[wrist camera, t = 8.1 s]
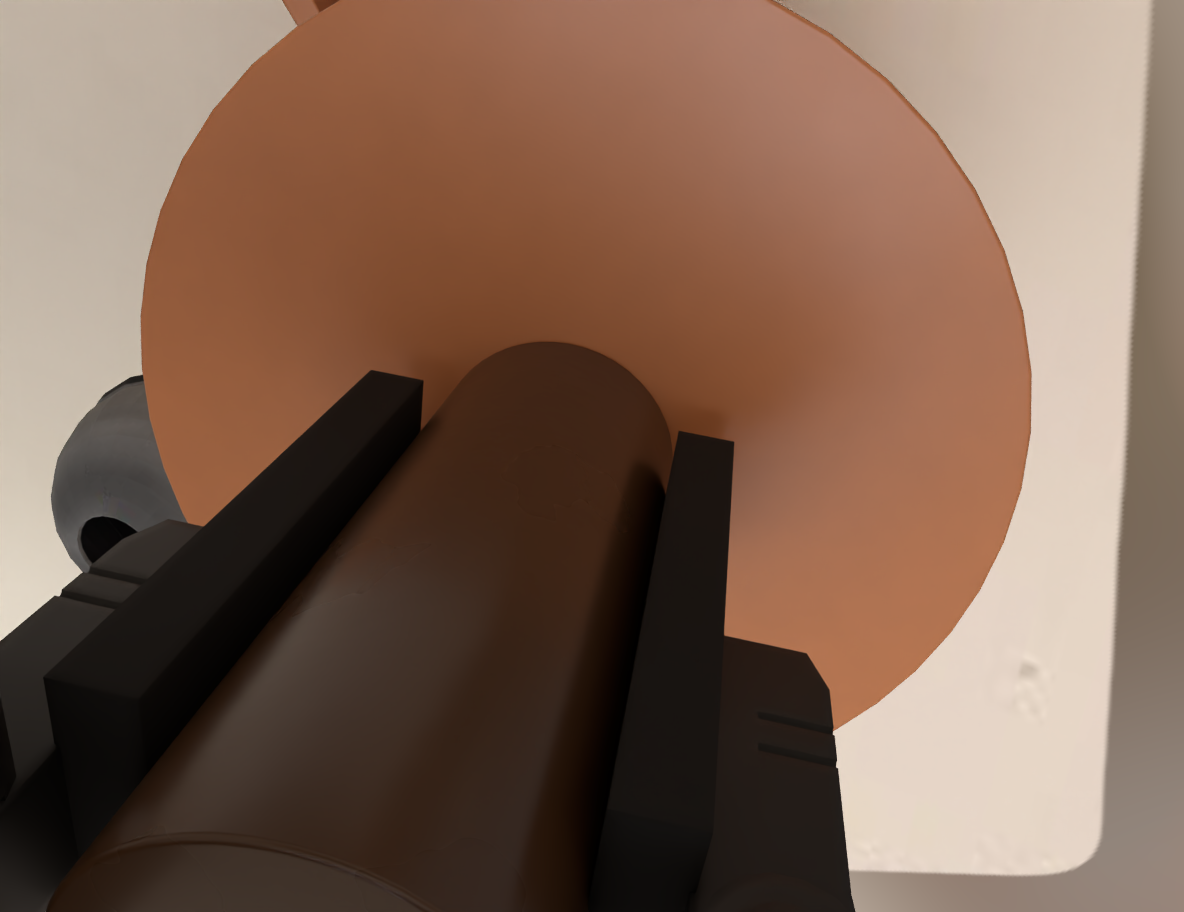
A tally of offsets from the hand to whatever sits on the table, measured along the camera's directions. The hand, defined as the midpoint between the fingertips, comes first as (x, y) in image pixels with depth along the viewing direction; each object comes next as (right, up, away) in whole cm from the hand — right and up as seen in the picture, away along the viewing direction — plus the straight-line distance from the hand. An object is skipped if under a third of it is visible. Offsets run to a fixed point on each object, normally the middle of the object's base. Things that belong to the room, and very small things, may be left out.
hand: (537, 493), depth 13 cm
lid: (0, +1, +2) cm, 2 cm away
